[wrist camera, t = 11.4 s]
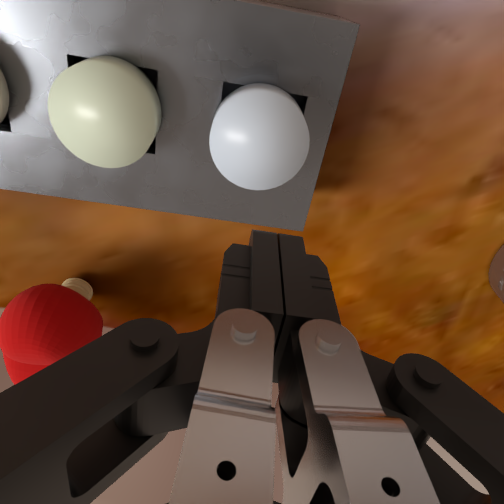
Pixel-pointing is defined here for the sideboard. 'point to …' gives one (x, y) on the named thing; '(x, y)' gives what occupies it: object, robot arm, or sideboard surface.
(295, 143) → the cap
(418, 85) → the sideboard surface
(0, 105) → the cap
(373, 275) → the sideboard surface
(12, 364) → the red heart
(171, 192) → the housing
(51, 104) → the cap mid
